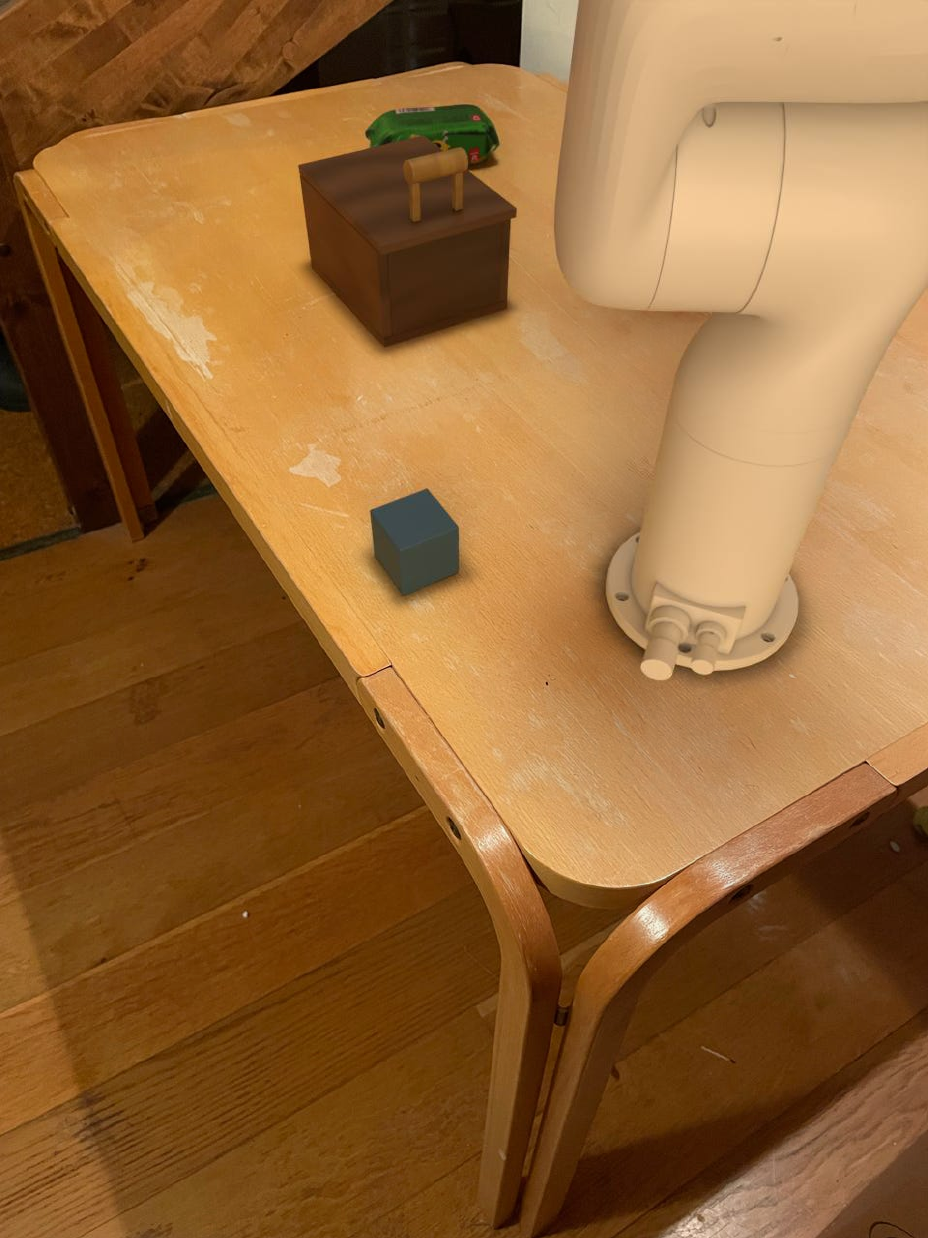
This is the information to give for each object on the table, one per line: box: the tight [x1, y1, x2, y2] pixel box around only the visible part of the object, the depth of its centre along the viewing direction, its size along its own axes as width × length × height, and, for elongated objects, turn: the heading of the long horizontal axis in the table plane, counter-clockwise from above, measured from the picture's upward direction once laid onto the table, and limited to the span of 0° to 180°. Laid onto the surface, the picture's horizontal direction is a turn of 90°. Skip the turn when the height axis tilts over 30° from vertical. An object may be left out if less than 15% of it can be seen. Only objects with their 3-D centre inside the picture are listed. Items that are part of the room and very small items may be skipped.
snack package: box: [364, 103, 500, 166], centre depth 101 cm, size 7×16×5 cm, turn 102°
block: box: [369, 488, 460, 596], centre depth 61 cm, size 4×4×4 cm
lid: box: [297, 136, 518, 255], centre depth 76 cm, size 17×13×6 cm
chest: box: [299, 174, 512, 348], centre depth 82 cm, size 16×13×9 cm
